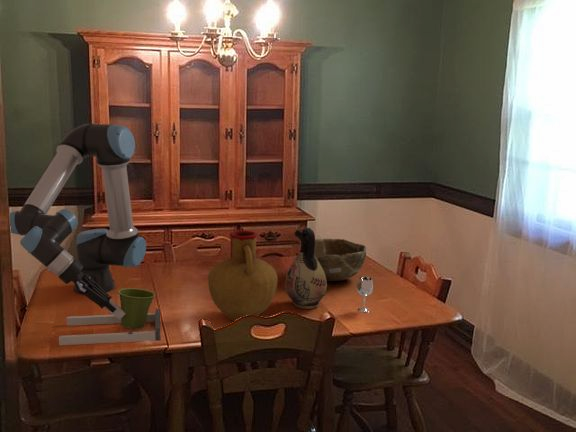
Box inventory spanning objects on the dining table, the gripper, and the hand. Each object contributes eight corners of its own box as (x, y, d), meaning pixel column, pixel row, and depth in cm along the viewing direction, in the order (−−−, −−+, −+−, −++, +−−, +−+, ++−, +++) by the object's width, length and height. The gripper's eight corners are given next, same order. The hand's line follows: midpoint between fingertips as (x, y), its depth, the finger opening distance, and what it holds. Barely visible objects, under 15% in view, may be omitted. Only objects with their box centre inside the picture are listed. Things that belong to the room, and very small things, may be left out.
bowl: (349, 294, 245) (350, 257, 242) (289, 282, 258) (290, 247, 255) (375, 277, 268) (377, 243, 265) (319, 267, 281) (320, 235, 278)
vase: (284, 327, 209) (287, 239, 203) (214, 333, 202) (214, 243, 196) (266, 304, 231) (268, 224, 225) (202, 308, 224) (202, 227, 219)
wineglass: (367, 314, 223) (369, 282, 221) (353, 311, 226) (354, 279, 224) (374, 309, 228) (376, 278, 226) (360, 306, 231) (361, 275, 229)
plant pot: (106, 324, 203) (110, 290, 202) (132, 319, 213) (136, 287, 212) (132, 333, 197) (136, 298, 196) (158, 328, 207) (162, 295, 206)
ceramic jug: (278, 300, 235) (280, 222, 229) (315, 296, 241) (318, 220, 235) (295, 315, 220) (297, 232, 214) (335, 311, 226) (338, 230, 220)
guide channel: (59, 345, 190) (58, 333, 189) (67, 323, 207) (67, 312, 206) (160, 340, 195) (160, 328, 195) (160, 319, 213) (160, 308, 212)
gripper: (60, 270, 200) (115, 317, 207) (53, 281, 188) (112, 331, 194) (77, 253, 200) (131, 301, 207) (71, 264, 188) (129, 314, 194)
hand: (122, 316), depth 200 cm, fingers closed
